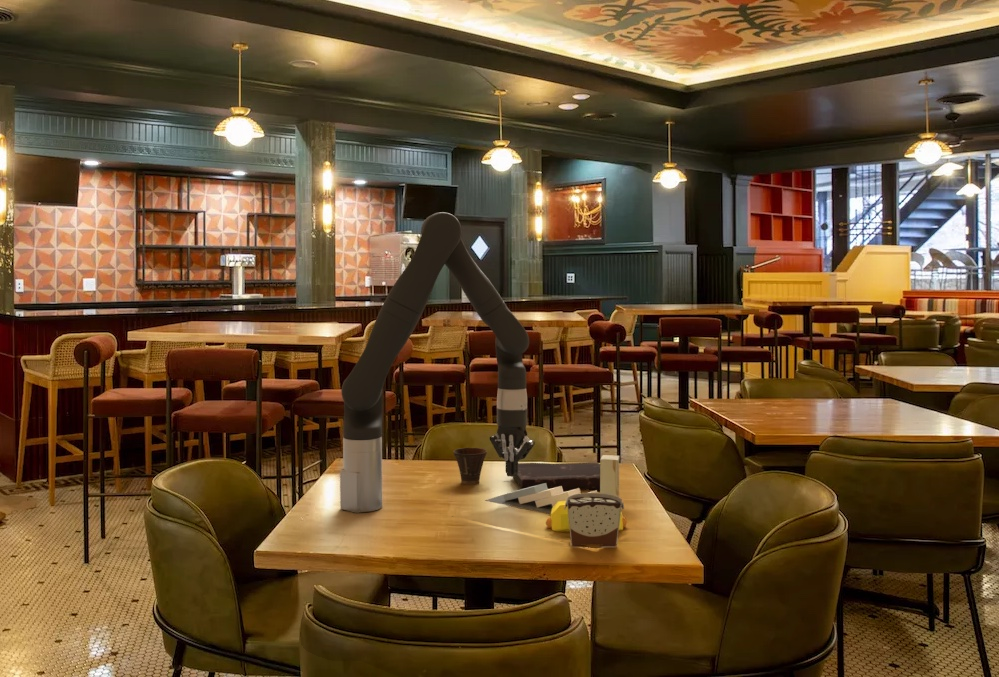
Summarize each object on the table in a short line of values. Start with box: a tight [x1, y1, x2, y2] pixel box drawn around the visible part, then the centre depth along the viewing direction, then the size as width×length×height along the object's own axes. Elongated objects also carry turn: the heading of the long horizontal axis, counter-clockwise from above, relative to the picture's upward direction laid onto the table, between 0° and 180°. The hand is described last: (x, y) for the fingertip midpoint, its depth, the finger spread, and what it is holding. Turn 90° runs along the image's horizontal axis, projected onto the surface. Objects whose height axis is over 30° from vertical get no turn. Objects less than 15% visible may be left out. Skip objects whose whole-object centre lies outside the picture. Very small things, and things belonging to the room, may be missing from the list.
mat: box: [485, 494, 553, 515], centre depth 205 cm, size 10×25×1 cm, turn 51°
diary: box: [512, 461, 600, 493], centre depth 227 cm, size 19×25×5 cm
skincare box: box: [599, 454, 620, 498], centre depth 204 cm, size 6×4×12 cm
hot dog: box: [545, 501, 628, 533], centre depth 185 cm, size 18×7×8 cm
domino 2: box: [518, 486, 564, 504], centre depth 204 cm, size 5×2×10 cm
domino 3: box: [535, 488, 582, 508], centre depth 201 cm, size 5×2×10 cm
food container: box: [564, 492, 625, 549], centre depth 176 cm, size 12×6×10 cm, turn 92°
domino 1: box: [502, 483, 548, 501], centre depth 207 cm, size 5×2×10 cm
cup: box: [453, 447, 488, 486], centre depth 227 cm, size 9×9×10 cm
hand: (511, 475), depth 209 cm, fingers closed
